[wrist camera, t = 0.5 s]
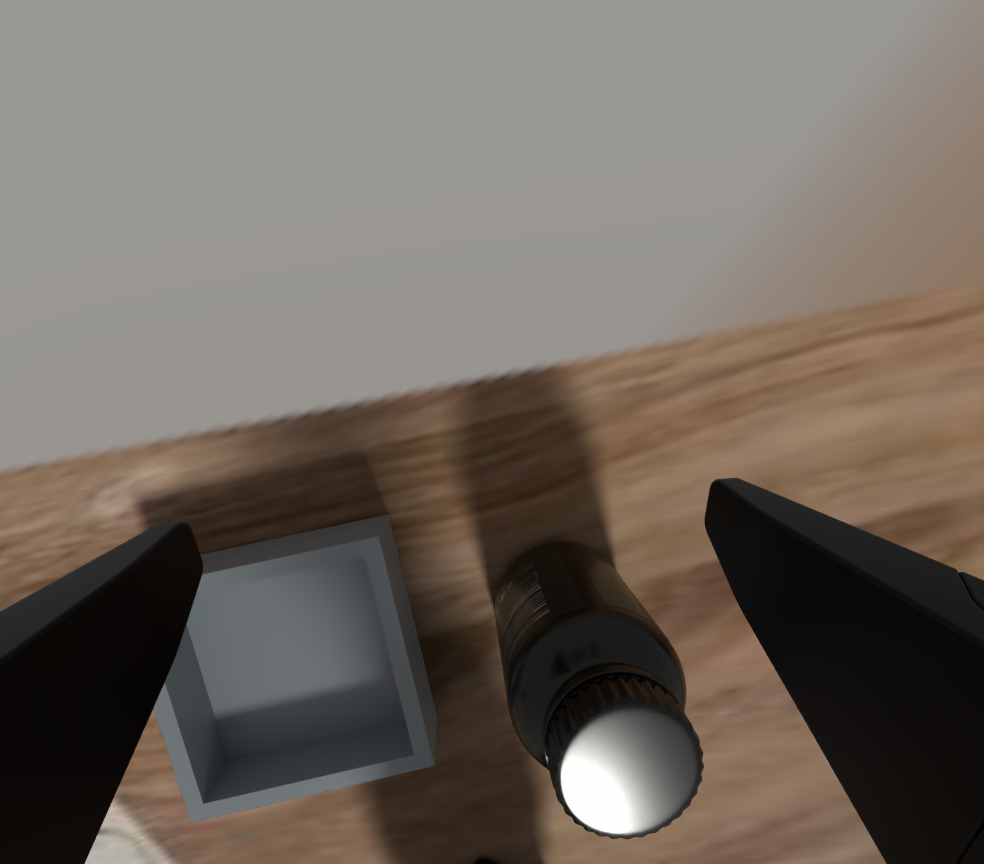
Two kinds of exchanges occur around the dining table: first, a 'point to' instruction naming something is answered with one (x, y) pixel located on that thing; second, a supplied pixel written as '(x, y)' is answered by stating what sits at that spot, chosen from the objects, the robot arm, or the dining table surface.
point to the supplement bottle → (595, 691)
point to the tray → (297, 672)
